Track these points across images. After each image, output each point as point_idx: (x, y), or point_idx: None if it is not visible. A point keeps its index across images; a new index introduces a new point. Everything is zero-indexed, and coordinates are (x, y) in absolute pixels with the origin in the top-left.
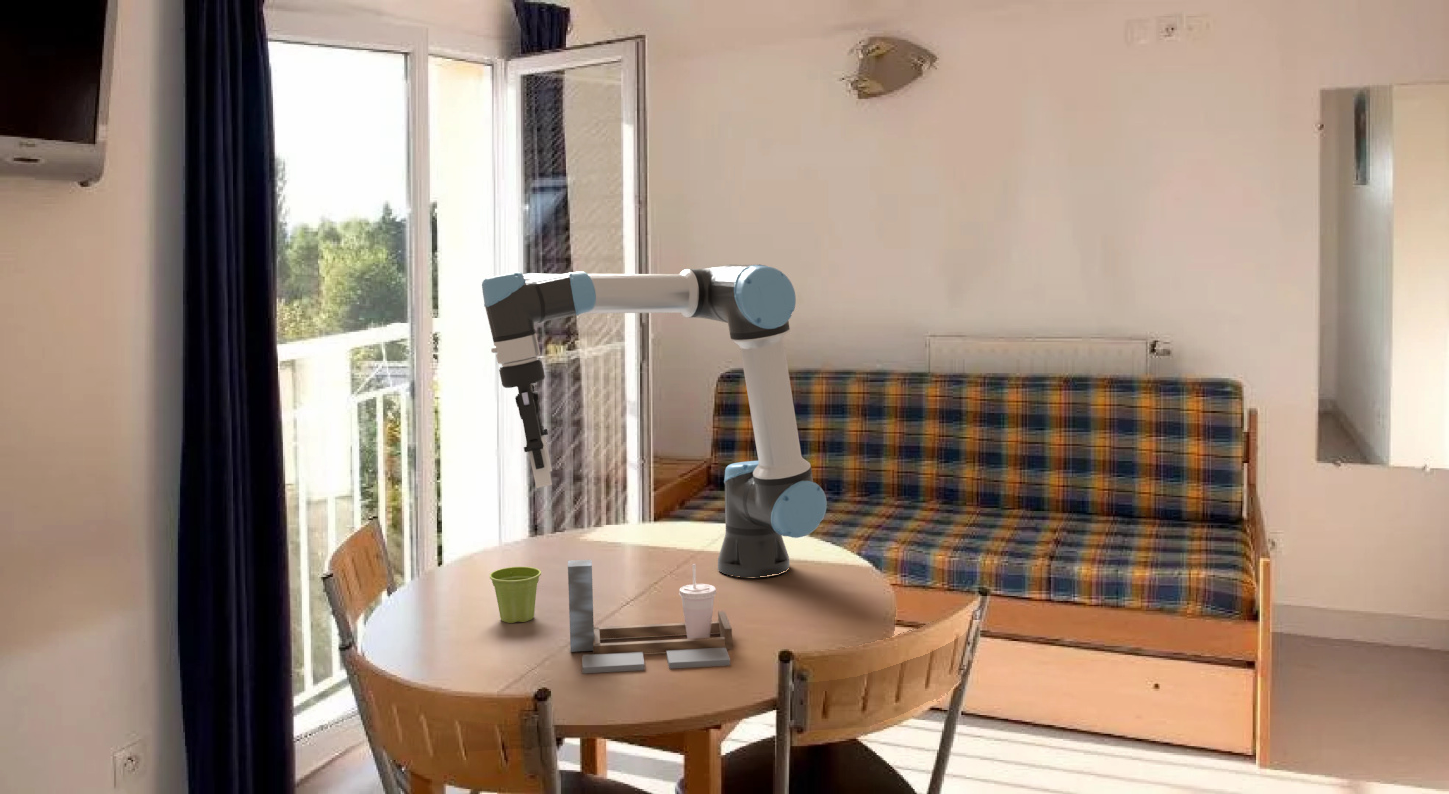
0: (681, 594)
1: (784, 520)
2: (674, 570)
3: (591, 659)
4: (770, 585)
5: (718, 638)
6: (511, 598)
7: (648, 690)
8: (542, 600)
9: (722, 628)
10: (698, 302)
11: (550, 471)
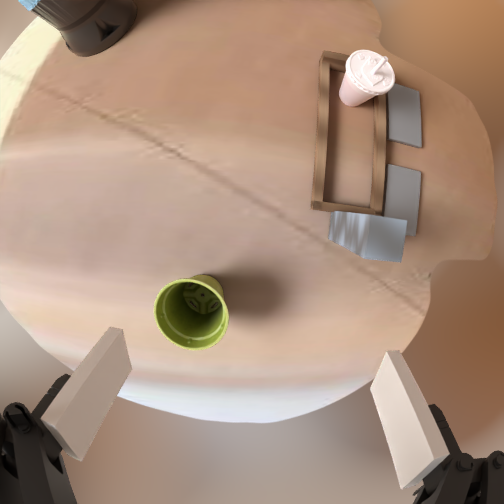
0: (379, 93)
1: None
2: (71, 99)
3: None
4: (161, 7)
5: None
6: (222, 313)
7: (457, 183)
8: (136, 258)
9: None
10: None
11: (123, 334)
